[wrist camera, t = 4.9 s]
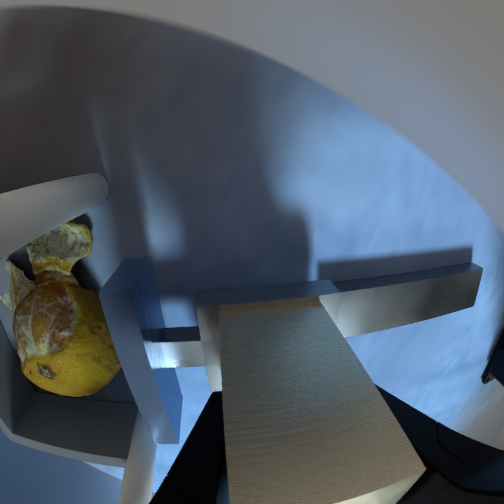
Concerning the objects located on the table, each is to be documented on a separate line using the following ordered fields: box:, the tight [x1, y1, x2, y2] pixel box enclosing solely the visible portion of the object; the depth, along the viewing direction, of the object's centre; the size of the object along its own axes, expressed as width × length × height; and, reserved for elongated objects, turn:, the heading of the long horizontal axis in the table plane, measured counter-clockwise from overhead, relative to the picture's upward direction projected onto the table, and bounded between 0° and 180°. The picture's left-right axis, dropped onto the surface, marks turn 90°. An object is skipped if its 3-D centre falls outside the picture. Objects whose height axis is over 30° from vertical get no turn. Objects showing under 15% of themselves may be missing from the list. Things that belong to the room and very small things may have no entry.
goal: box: [0, 173, 157, 504], centre depth 8 cm, size 10×13×7 cm
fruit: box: [0, 220, 121, 397], centre depth 10 cm, size 8×8×4 cm
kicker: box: [98, 257, 426, 504], centre depth 8 cm, size 8×7×8 cm
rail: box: [332, 263, 483, 338], centre depth 13 cm, size 10×2×1 cm, turn 93°
